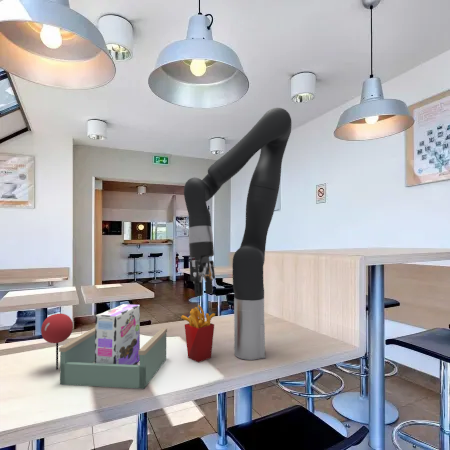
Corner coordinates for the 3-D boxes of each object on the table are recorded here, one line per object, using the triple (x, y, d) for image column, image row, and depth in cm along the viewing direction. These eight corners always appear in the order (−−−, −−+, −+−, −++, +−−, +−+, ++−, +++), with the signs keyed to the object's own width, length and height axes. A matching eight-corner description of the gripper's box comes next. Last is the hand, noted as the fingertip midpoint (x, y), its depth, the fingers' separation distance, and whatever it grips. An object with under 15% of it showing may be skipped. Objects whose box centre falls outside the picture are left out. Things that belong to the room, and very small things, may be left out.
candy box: (114, 382, 78) (115, 315, 78) (93, 380, 79) (94, 314, 80) (140, 360, 91) (140, 303, 92) (122, 359, 93) (122, 303, 93)
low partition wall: (167, 358, 93) (167, 328, 93) (144, 389, 74) (144, 350, 75) (97, 355, 95) (97, 325, 95) (58, 384, 77) (59, 347, 77)
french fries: (215, 357, 93) (215, 307, 94) (193, 365, 88) (193, 311, 88) (196, 350, 100) (196, 302, 100) (175, 357, 94) (175, 306, 94)
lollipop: (42, 366, 88) (43, 312, 88) (72, 361, 91) (73, 309, 91) (38, 377, 81) (39, 318, 81) (71, 372, 84) (72, 315, 84)
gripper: (203, 238, 90) (207, 296, 88) (219, 242, 104) (223, 292, 101) (180, 241, 92) (183, 297, 90) (198, 244, 106) (201, 293, 103)
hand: (204, 294), depth 96 cm, fingers open, 8 cm apart
